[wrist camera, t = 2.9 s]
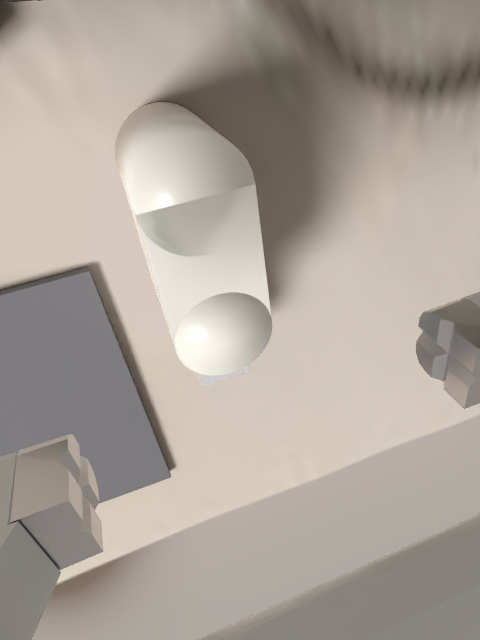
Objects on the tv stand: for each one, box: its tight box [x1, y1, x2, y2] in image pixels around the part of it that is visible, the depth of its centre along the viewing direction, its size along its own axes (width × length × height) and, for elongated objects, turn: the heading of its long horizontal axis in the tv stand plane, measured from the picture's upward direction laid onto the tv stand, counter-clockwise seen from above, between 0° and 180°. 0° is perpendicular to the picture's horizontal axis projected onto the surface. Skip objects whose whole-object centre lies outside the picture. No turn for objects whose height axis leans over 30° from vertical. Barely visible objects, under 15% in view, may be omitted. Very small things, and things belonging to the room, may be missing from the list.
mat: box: [0, 267, 171, 504], centre depth 21 cm, size 12×14×1 cm
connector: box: [115, 102, 272, 387], centre depth 17 cm, size 4×11×5 cm, turn 8°
